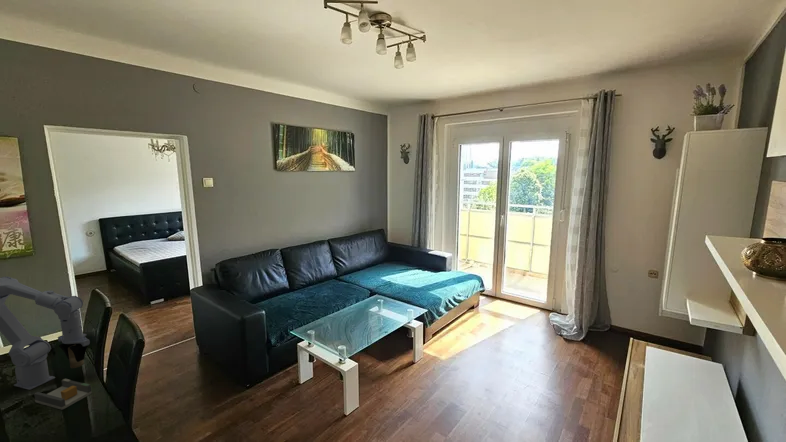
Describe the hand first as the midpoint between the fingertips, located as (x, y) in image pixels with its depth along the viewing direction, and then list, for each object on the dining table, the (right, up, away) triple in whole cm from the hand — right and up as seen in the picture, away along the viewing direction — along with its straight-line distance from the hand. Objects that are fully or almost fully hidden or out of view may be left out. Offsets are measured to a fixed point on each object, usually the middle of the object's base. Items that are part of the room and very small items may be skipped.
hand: (76, 359), depth 131 cm
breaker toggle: (+8, -9, -11) cm, 16 cm away
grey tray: (+5, -10, -10) cm, 15 cm away
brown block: (0, -2, 0) cm, 2 cm away
